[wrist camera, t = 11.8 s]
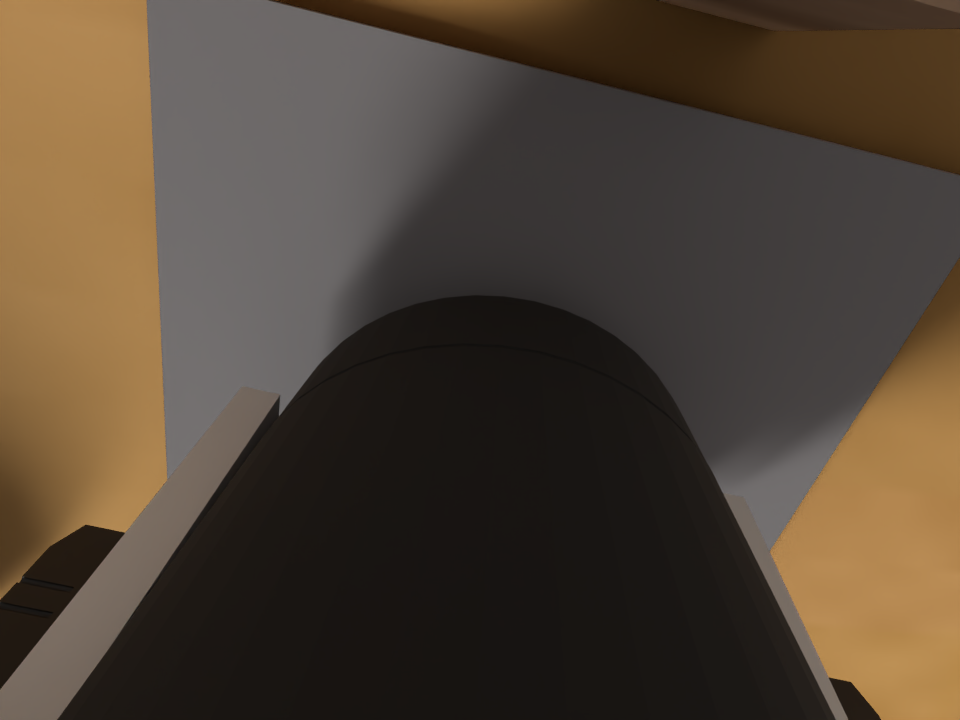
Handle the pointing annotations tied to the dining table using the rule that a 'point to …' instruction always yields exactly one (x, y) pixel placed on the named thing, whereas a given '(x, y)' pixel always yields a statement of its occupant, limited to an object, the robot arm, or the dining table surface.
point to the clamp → (833, 13)
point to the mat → (522, 228)
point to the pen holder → (465, 548)
